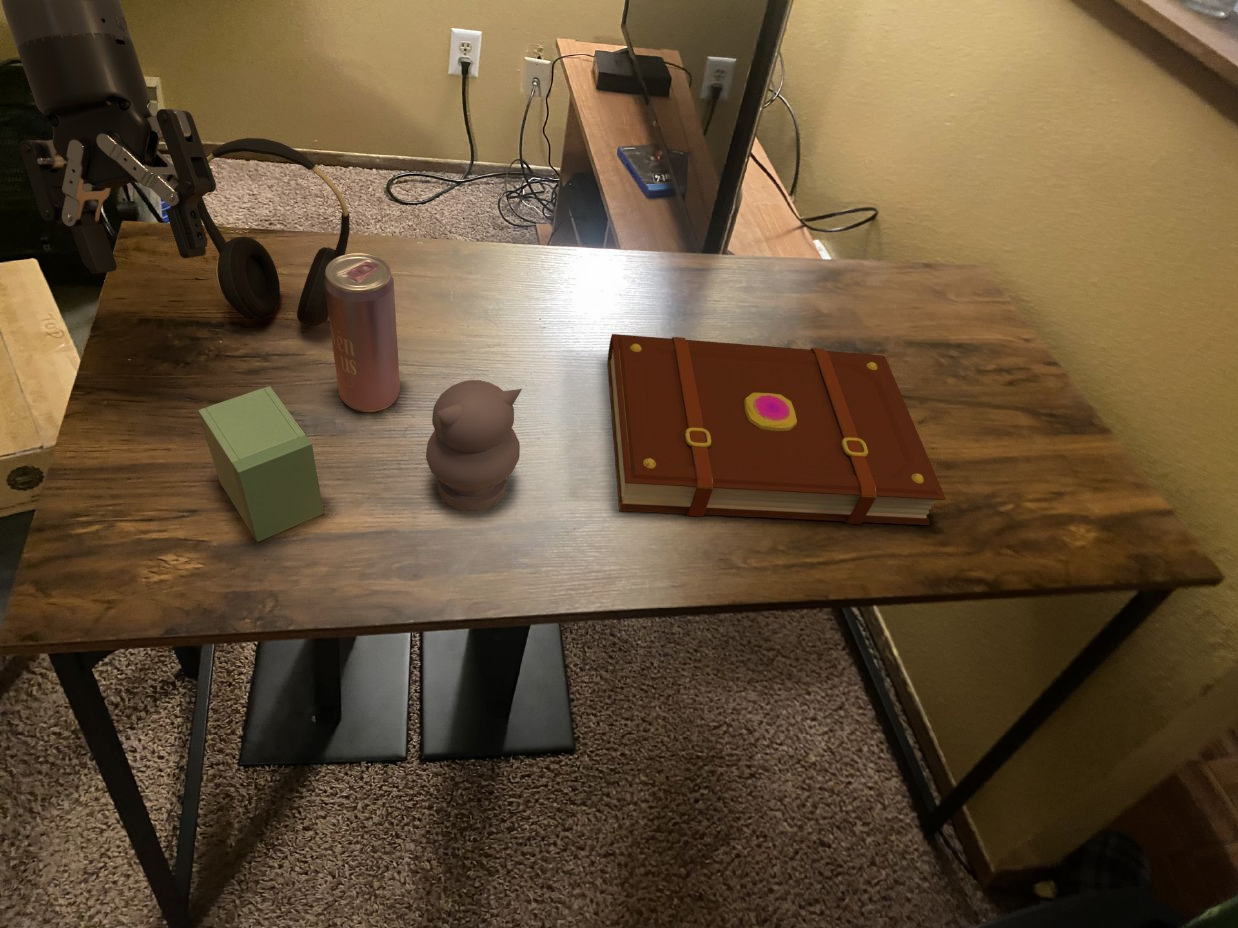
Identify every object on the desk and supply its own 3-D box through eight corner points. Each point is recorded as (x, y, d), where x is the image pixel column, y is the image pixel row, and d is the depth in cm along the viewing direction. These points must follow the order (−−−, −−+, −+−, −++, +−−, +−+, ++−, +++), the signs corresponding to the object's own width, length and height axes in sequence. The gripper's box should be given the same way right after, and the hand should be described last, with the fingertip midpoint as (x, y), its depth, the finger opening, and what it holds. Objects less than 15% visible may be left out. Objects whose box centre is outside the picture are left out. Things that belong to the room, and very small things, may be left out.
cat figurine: (493, 443, 83) (499, 350, 74) (532, 498, 79) (542, 406, 70) (412, 471, 79) (408, 376, 70) (448, 530, 75) (449, 436, 66)
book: (928, 528, 84) (950, 496, 80) (619, 513, 79) (627, 478, 75) (868, 377, 99) (884, 345, 96) (606, 358, 94) (613, 322, 91)
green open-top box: (219, 482, 75) (197, 409, 68) (285, 457, 78) (270, 385, 71) (257, 542, 71) (237, 472, 64) (324, 513, 74) (312, 443, 68)
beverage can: (412, 393, 86) (407, 270, 75) (370, 424, 82) (358, 299, 71) (369, 367, 88) (357, 243, 77) (326, 396, 84) (307, 270, 73)
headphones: (233, 283, 93) (193, 108, 79) (367, 299, 95) (353, 131, 81) (207, 331, 88) (159, 151, 73) (351, 347, 89) (332, 175, 75)
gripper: (-48, 56, 59) (37, 284, 64) (116, 11, 56) (193, 256, 61) (40, 67, 66) (111, 272, 71) (191, 28, 63) (255, 247, 68)
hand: (149, 265), depth 66 cm, fingers open, 8 cm apart
